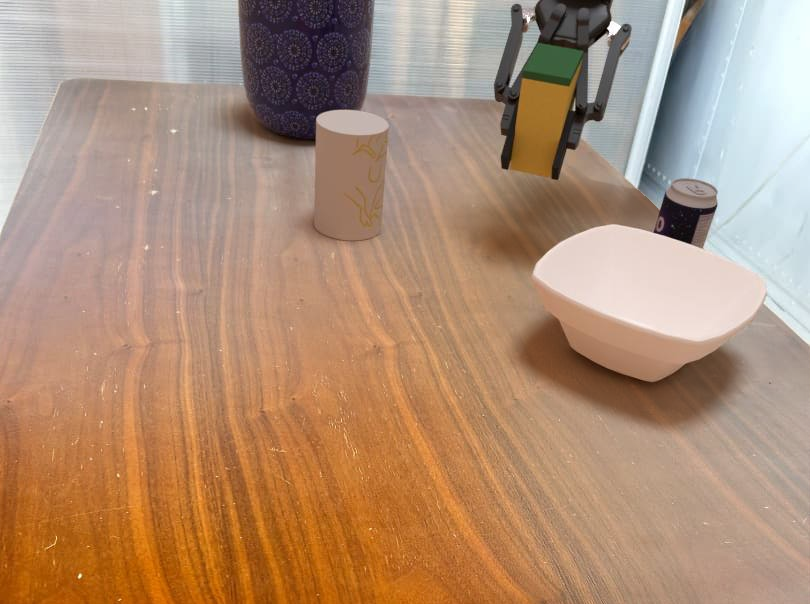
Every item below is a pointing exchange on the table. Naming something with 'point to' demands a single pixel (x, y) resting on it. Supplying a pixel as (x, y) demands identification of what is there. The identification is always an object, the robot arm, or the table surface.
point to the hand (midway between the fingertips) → (529, 168)
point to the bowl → (644, 299)
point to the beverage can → (687, 211)
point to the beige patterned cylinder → (349, 174)
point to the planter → (304, 59)
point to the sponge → (544, 107)
